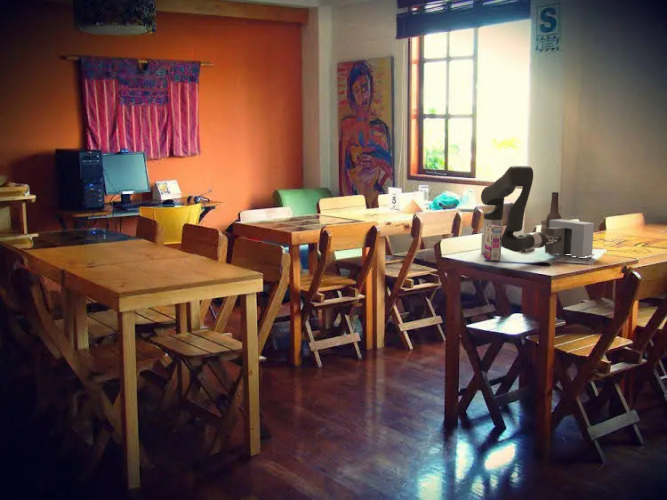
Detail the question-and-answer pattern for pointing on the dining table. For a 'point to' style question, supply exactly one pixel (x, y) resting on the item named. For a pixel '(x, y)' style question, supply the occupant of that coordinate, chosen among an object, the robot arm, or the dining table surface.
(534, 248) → the electrical switch
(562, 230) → the plug
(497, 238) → the candy bar box
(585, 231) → the socket
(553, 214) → the beer bottle
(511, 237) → the robot arm
